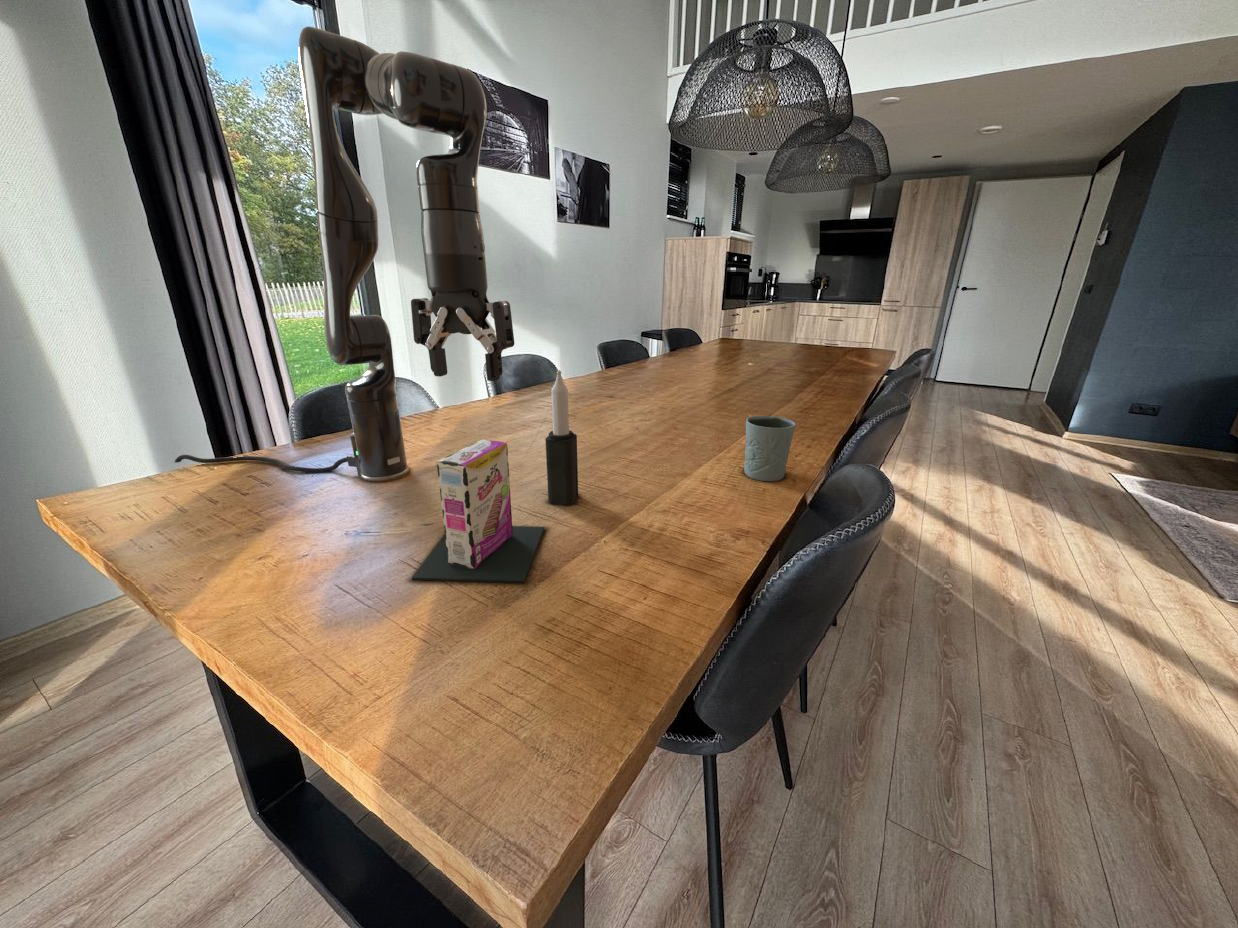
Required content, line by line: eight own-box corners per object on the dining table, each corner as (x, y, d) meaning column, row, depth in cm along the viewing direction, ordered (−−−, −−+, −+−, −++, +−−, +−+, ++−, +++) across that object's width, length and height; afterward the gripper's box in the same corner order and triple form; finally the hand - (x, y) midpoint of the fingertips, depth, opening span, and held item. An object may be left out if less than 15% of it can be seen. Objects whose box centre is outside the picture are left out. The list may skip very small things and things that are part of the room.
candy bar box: (476, 571, 71) (464, 465, 65) (447, 564, 73) (433, 461, 67) (515, 535, 81) (508, 441, 75) (489, 530, 82) (480, 437, 77)
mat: (412, 580, 70) (411, 577, 69) (452, 526, 85) (451, 524, 84) (523, 583, 69) (523, 580, 69) (544, 528, 84) (544, 526, 84)
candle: (572, 505, 93) (568, 373, 84) (546, 503, 93) (540, 372, 85) (579, 494, 97) (576, 368, 88) (555, 492, 98) (549, 367, 89)
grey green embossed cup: (737, 478, 106) (742, 424, 102) (744, 463, 115) (749, 413, 110) (786, 485, 102) (794, 430, 98) (790, 469, 111) (797, 418, 107)
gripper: (387, 251, 62) (406, 379, 67) (487, 250, 58) (498, 387, 63) (426, 253, 68) (440, 370, 74) (518, 253, 64) (525, 376, 70)
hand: (467, 377), depth 69 cm, fingers open, 8 cm apart
